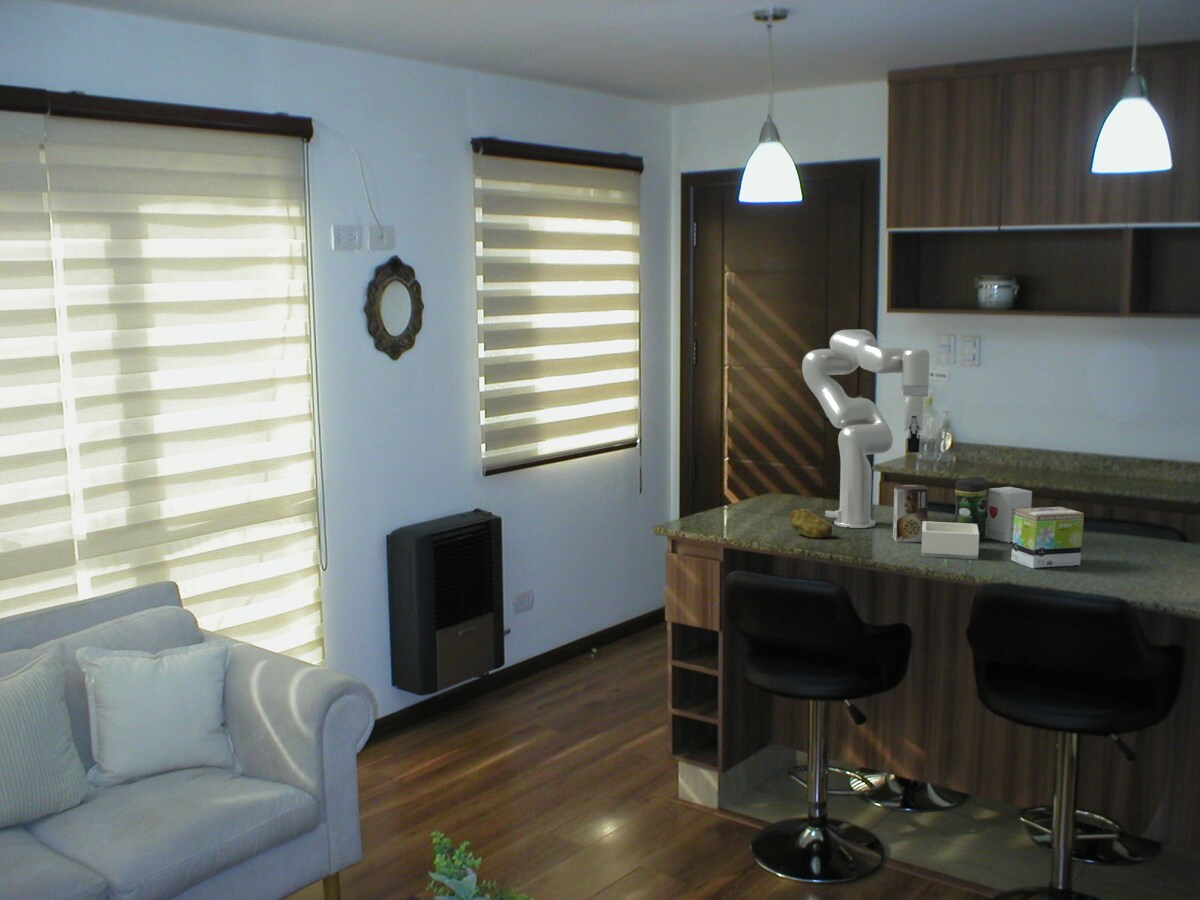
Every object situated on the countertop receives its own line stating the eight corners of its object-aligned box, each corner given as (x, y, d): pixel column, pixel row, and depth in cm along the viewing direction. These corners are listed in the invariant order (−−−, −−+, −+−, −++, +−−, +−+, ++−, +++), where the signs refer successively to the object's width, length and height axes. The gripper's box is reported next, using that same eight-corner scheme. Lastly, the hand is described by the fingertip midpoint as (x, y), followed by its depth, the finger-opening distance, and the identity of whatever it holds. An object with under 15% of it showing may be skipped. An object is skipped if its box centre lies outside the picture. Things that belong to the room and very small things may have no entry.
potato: (816, 541, 344) (817, 514, 343) (784, 534, 354) (784, 508, 353) (835, 537, 349) (836, 511, 348) (802, 531, 359) (803, 505, 358)
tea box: (1033, 569, 309) (1036, 514, 307) (1010, 561, 319) (1013, 507, 317) (1082, 565, 314) (1085, 511, 312) (1057, 557, 323) (1060, 505, 321)
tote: (921, 556, 325) (922, 531, 324) (921, 545, 339) (922, 521, 338) (978, 559, 321) (979, 534, 320) (975, 547, 335) (976, 523, 334)
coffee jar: (964, 534, 353) (967, 474, 351) (989, 538, 348) (992, 477, 345) (948, 539, 346) (951, 477, 344) (973, 543, 341) (976, 480, 338)
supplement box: (984, 537, 349) (987, 488, 347) (1006, 535, 353) (1009, 486, 351) (1008, 543, 341) (1010, 493, 339) (1030, 540, 345) (1033, 490, 343)
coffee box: (923, 538, 349) (925, 484, 346) (927, 542, 342) (929, 488, 340) (892, 537, 349) (893, 484, 347) (895, 542, 343) (897, 487, 341)
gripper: (902, 389, 349) (901, 446, 351) (901, 393, 332) (899, 453, 335) (928, 389, 347) (926, 447, 349) (928, 394, 330) (926, 454, 333)
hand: (913, 450), depth 342 cm, fingers open, 9 cm apart
